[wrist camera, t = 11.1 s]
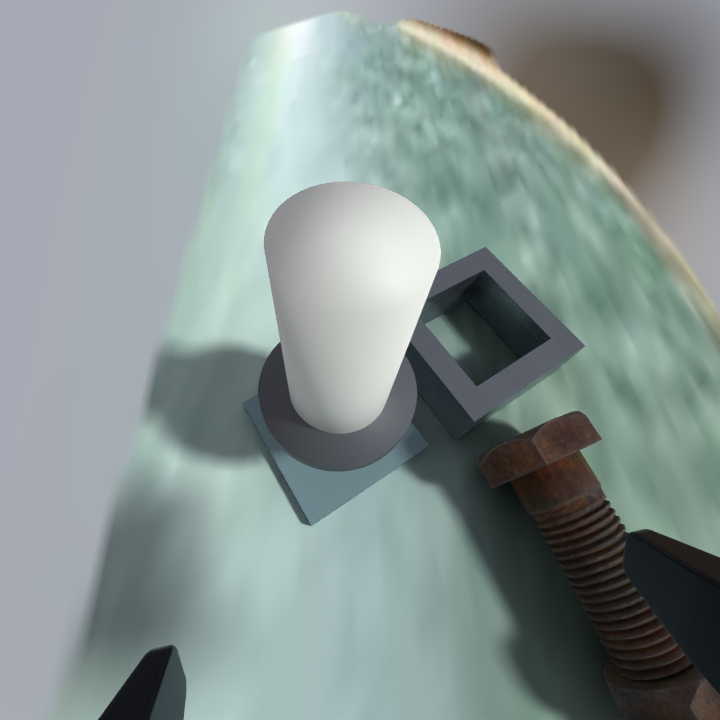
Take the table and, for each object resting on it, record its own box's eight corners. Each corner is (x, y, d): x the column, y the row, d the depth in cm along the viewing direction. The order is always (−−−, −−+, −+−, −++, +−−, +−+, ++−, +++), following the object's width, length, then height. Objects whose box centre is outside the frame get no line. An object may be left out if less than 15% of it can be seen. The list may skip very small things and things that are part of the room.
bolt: (661, 793, 17) (482, 457, 22) (792, 762, 15) (569, 417, 21) (727, 947, 11) (470, 456, 17) (933, 916, 10) (585, 402, 16)
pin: (421, 423, 21) (542, 246, 9) (337, 519, 18) (365, 434, 7) (333, 349, 23) (346, 120, 11) (245, 427, 20) (144, 235, 9)
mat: (427, 447, 21) (429, 445, 20) (311, 526, 18) (311, 525, 18) (354, 347, 23) (354, 344, 23) (244, 406, 21) (242, 403, 21)
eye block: (555, 371, 24) (585, 345, 21) (455, 440, 21) (474, 421, 18) (468, 279, 26) (485, 246, 24) (370, 330, 24) (377, 300, 21)
